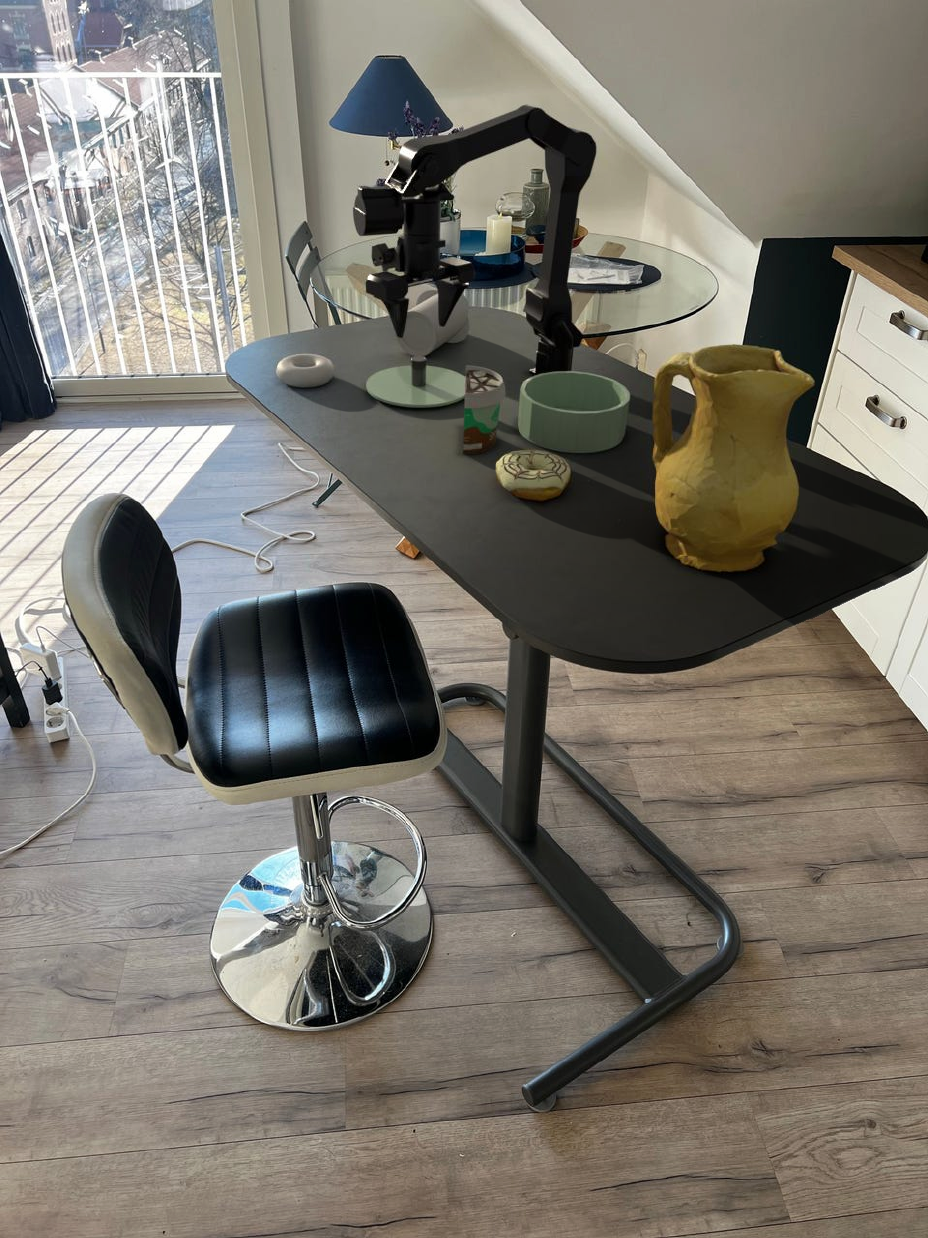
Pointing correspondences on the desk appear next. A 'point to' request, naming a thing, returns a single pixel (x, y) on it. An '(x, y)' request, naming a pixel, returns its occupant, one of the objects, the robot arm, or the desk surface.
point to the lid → (417, 385)
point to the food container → (481, 408)
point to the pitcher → (726, 455)
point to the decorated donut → (533, 474)
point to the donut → (305, 370)
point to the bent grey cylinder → (431, 322)
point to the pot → (573, 411)
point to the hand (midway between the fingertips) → (421, 331)
